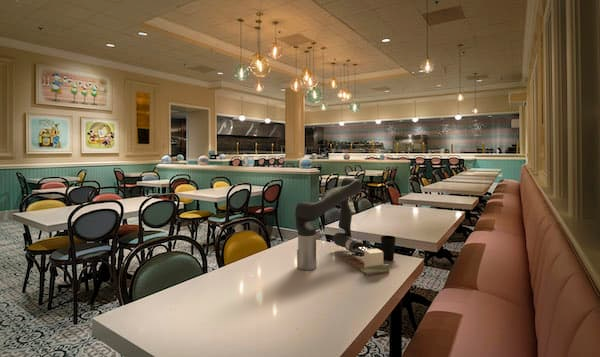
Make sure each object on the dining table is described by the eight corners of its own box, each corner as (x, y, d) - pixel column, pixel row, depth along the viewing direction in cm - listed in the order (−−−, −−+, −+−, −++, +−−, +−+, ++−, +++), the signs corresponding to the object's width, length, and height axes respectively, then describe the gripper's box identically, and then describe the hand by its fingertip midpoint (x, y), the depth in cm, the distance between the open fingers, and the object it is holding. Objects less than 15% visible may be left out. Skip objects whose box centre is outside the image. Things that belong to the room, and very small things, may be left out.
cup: (397, 261, 183) (397, 239, 182) (382, 261, 183) (382, 239, 182) (393, 256, 190) (393, 235, 189) (379, 257, 191) (379, 235, 189)
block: (364, 267, 171) (364, 250, 170) (377, 266, 173) (377, 248, 172) (370, 272, 165) (370, 253, 164) (383, 270, 167) (383, 252, 166)
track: (341, 257, 191) (341, 250, 191) (361, 255, 194) (361, 248, 194) (366, 275, 163) (366, 267, 163) (389, 272, 167) (389, 264, 166)
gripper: (343, 241, 186) (358, 250, 169) (366, 238, 189) (382, 247, 173) (343, 254, 186) (358, 265, 170) (366, 252, 190) (382, 262, 174)
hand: (370, 256), depth 171 cm, fingers closed
